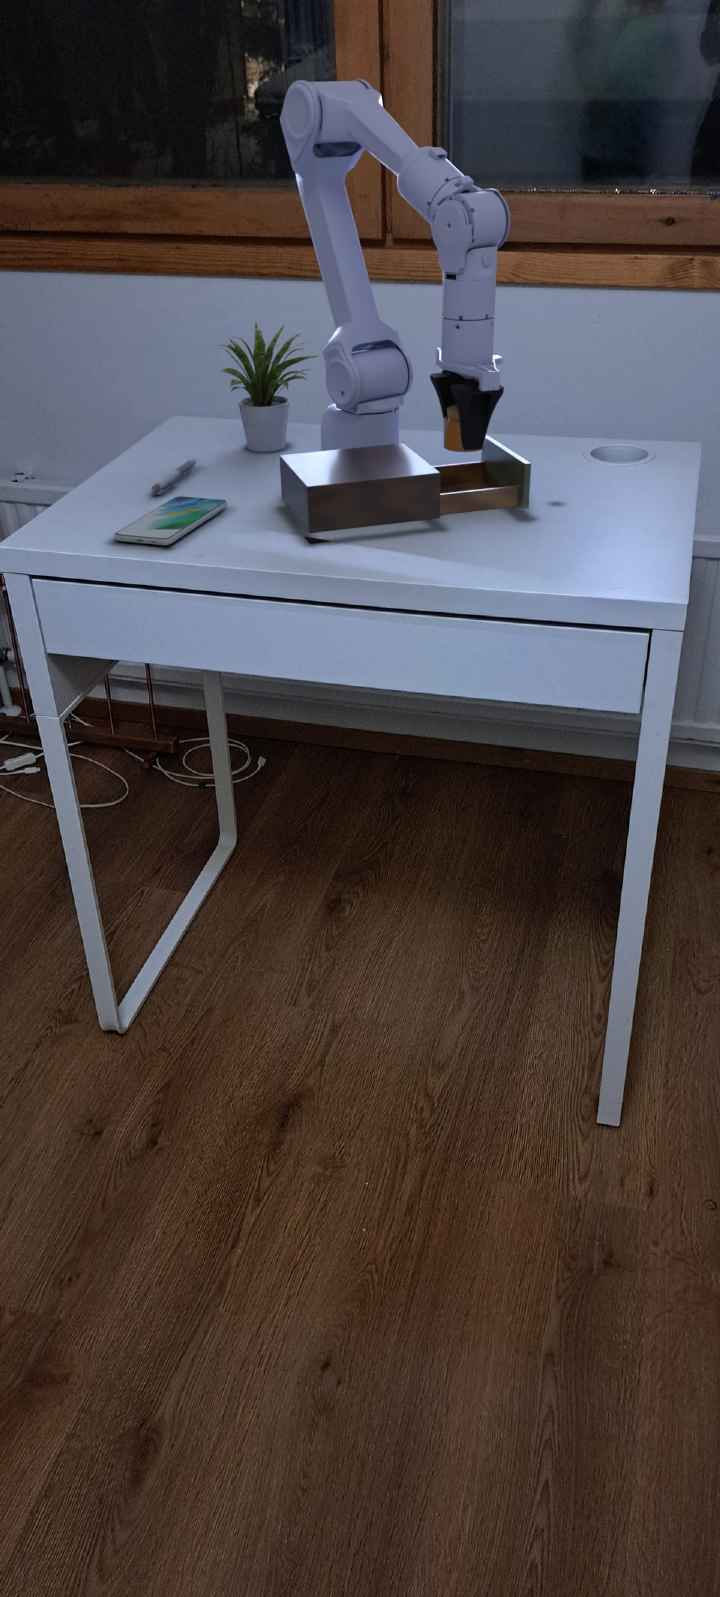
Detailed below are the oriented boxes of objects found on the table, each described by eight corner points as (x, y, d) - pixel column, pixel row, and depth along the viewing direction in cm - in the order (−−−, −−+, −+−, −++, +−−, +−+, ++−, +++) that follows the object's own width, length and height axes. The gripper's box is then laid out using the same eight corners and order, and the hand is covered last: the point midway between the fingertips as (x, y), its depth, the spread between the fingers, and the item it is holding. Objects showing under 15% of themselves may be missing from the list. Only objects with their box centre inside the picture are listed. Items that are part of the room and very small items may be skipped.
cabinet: (403, 495, 142) (403, 443, 138) (439, 529, 131) (440, 472, 127) (282, 509, 138) (279, 455, 135) (309, 544, 127) (307, 486, 124)
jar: (436, 449, 132) (437, 410, 130) (453, 439, 136) (454, 401, 134) (474, 454, 130) (476, 415, 128) (491, 443, 134) (493, 405, 132)
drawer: (494, 483, 144) (496, 433, 141) (537, 515, 133) (541, 462, 130) (370, 497, 141) (369, 446, 137) (404, 530, 130) (404, 476, 126)
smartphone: (111, 534, 129) (176, 495, 140) (112, 542, 129) (177, 502, 141) (168, 540, 126) (229, 499, 138) (169, 547, 127) (230, 506, 139)
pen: (149, 498, 143) (147, 486, 142) (192, 466, 154) (191, 456, 153) (156, 498, 143) (155, 487, 142) (199, 467, 154) (198, 456, 153)
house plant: (273, 469, 153) (266, 338, 144) (192, 454, 159) (181, 328, 151) (334, 444, 163) (330, 320, 154) (256, 431, 169) (248, 312, 161)
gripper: (529, 324, 121) (521, 455, 128) (478, 304, 133) (474, 424, 140) (465, 329, 119) (461, 462, 126) (419, 308, 131) (418, 430, 138)
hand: (464, 443), depth 133 cm, fingers closed on jar, 5 cm apart
